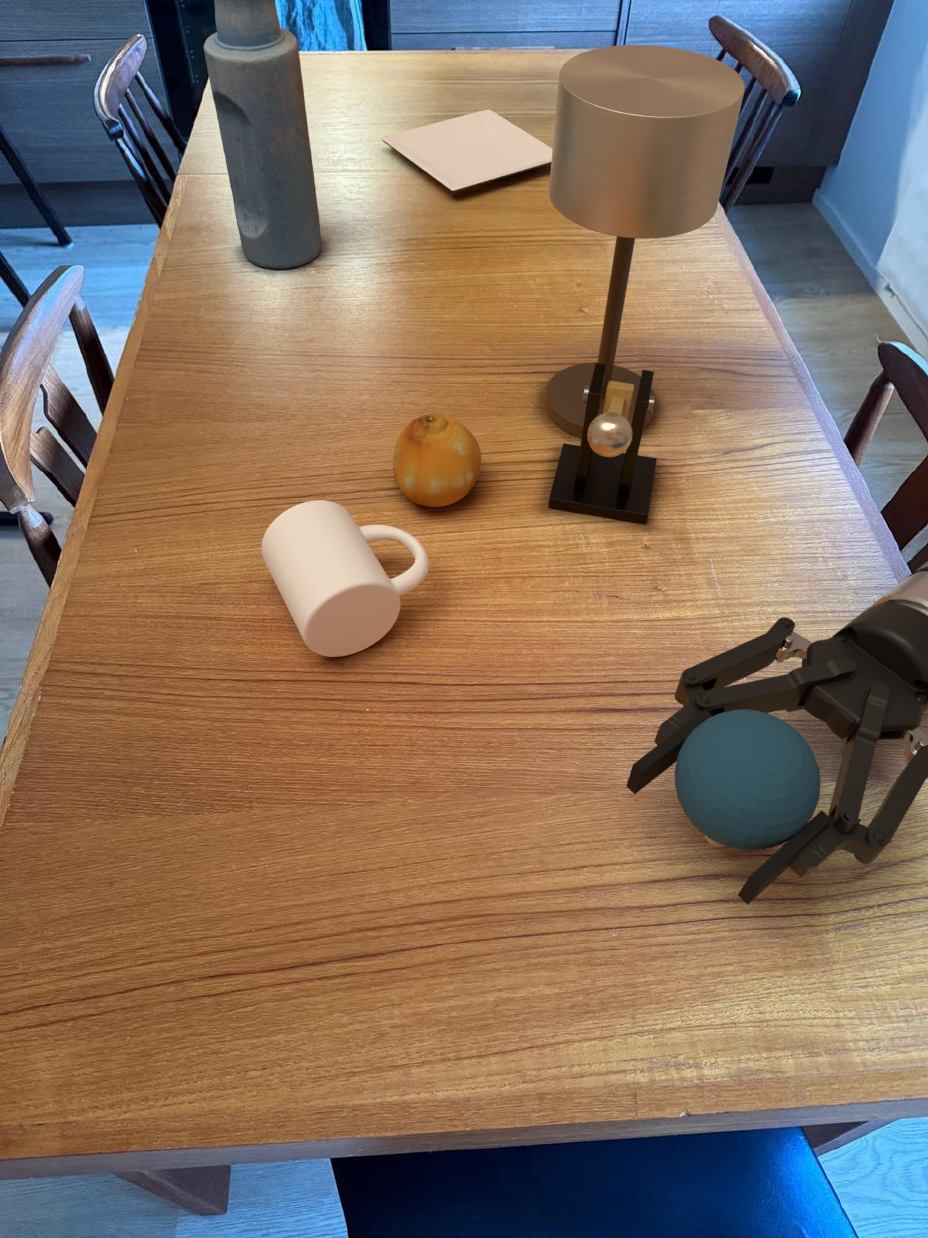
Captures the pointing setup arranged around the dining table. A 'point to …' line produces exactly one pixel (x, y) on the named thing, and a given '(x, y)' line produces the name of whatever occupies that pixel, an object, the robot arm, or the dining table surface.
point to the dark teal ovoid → (747, 780)
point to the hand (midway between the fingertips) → (689, 832)
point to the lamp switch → (612, 422)
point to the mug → (337, 576)
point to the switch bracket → (607, 464)
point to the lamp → (635, 172)
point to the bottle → (264, 133)
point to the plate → (470, 150)
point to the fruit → (436, 460)
